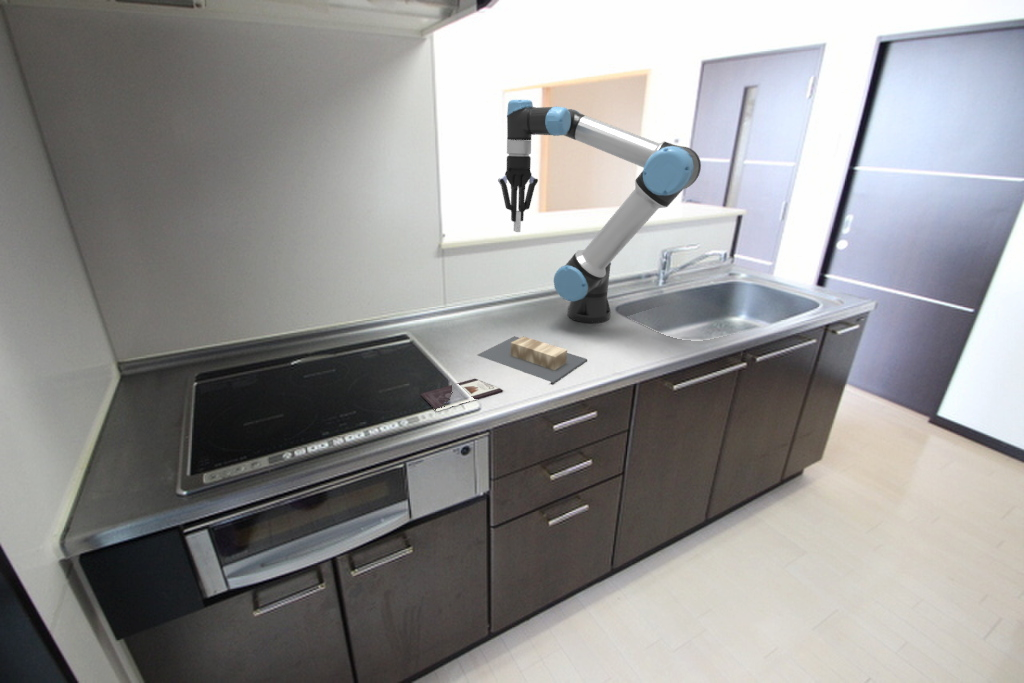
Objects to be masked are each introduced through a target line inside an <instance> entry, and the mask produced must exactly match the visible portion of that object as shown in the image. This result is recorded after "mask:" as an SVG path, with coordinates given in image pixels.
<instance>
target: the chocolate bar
mask: <svg viewBox="0 0 1024 683" xmlns="http://www.w3.org/2000/svg"><path fill="white" fill-rule="evenodd" d="M456 384H459V385H460V386H461V387H462V388H463V389H464V390H465V391H466V392H467V393H468V394H469V395H470V396H471V397H473V398H474V399H478V400H482V399H484V398H487V397H488V398H489V397H490V396H491V397H492V396H494V395H498V394H500V393H501V394H502V393H503V389H501V388H500V387H498V386H495V385H493V384H491V383H488V382H485V381H482V380H480V379H477V378H472V379H468V380H465V381H460V382H457V383H456ZM452 385H453V384H450V385H447V386H442V387H439V388H436V389H433V390H427V391H425V392H422V393H420V396H421V398H422V399H423V398H424V399H425V400H426V401H427V402H428V403H429V404H430V405H431V406H432V407H433V408H434V409H435V410H436V409H437V408H440V407H441V408H442V405H444V404H445V403H444V402H446V403H447V402H448V400H450V399H449V398H450V397H451V395H452V393H453V392H452ZM451 392H452V393H451ZM446 398H447V399H446ZM424 399H423V400H424ZM445 400H446V401H445ZM426 401H425V402H426ZM427 402H426V403H427ZM428 403H427V404H428ZM442 403H443V404H442ZM429 404H428V405H429ZM430 405H429V406H430ZM431 406H430V407H431ZM439 406H440V407H439ZM432 407H431V408H432ZM444 407H445V406H444ZM433 408H432V409H433ZM434 409H433V410H434ZM435 410H434V411H435Z"/></svg>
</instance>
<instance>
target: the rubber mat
mask: <svg viewBox="0 0 1024 683" xmlns="http://www.w3.org/2000/svg"><path fill="white" fill-rule="evenodd" d="M519 338H520V337H519V336H512V337H510V338H509V339H508V338H507V339H506V340H504V341H502V342H499V343H498V344H496V345H494V346H492V347H490V348H488V349H486V350H484V351H482V352H480V353H478V354H477V356H478V357H481V358H484V359H487V360H489V361H493V362H495V363H498V364H500V365H503V366H506V367H509V368H512V369H514V370H516V371H520V372H523V373H525V374H528V375H530V376H534V377H537V378H538V379H539V378H540V379H542V380H545V381H548V382H549V383H551V385H555V382H556V383H557V382H559V381H560V380H561V378H563V379H564V377H566V376H567V375H569V374H570V373H572V372H573V371H575V370H576V369H577V367H578V368H579V367H581V365H583V364H585V363H586V362H588V358H586V357H582V356H579V355H576V354H573V353H569V352H567V360H566V363H565V364H564V365H562V366H561V367H559V368H558V369H556V370H552V369H549V368H546V367H543V366H540V365H537V364H534V363H531V362H529V361H526V360H523V359H520V358H517V357H514V356H511V342H513V341H515V340H517V339H519ZM574 369H575V370H574ZM568 373H569V374H568ZM558 380H559V381H558Z"/></svg>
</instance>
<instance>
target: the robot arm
mask: <svg viewBox="0 0 1024 683" xmlns="http://www.w3.org/2000/svg"><path fill="white" fill-rule="evenodd" d="M506 112H507V114H506V119H507V121H506V123H507V126H506V128H507V129H506V131H507V132H506V133H507V134H506V136H507V137H506V138H507V139H506V154H507V156H506V171H505V173H504V176H502V177H500V178H498V180H497V181H498V183H499V185H500V187H501V191H502V196H503V197H502V198H503V201H504V206H505V209H507V210H509V211H510V212H511V213H510V214H511V215H510V216H511V217H510V220H511V222H513V232H515V233H521V225H522V224H521V223H522V222H524V216H525V215H524V212H525V211H526V210H529V209H530V206H531V204H532V200H533V195H534V192H535V187H536V185H537V184H538V182H539V179H538V178H535V177H534V176H533V175H532V172H531V159H532V157H531V156H530V155H531V153H532V135H533V136H534V135H536V136H537V135H538V136H553V137H555V136H557V137H558V136H564V137H567V138H569V139H573V140H574V141H578V142H579V143H582V144H585V145H588V146H589V147H593V148H594V149H597V150H600V151H602V152H605V153H607V154H609V155H612V156H614V157H616V158H619V159H621V160H624V161H627V162H629V163H631V164H634V165H637V166H638V167H641V168H643V170H642V171H641V173H640V174H638V176H637V177H636V179H635V180H634V183H635V184H634V186H635V188H634V190H632V192H631V193H630V194H629V195H628V197H627V198H626V199H625V200H624V201H623V203H622V204H621V205H620V207H619V208H617V210H616V211H615V212H614V214H612V216H611V217H610V218H609V220H607V222H606V223H605V224H604V225H603V227H602V228H601V229H600V230H599V231H598V233H597V234H596V235H595V236H594V238H592V240H591V241H590V242H589V243H588V245H587V246H586V247H585V249H579V250H577V251H576V252H575V253H574V254H573V255H572V257H571V258H570V259H569V260H568V262H566V264H565V265H562V266H561V267H559V268H558V269H557V270H556V272H555V273H554V276H553V285H554V286H553V287H554V289H555V292H556V293H557V294H558V295H559V296H560V298H562V299H563V300H565V301H568V302H569V305H568V307H567V313H566V315H567V317H568V316H569V317H568V318H570V319H571V320H573V321H576V320H577V322H581V323H586V324H587V323H588V324H599V323H603V322H607V321H608V320H610V318H611V308H610V302H609V298H608V290H609V282H610V271H611V266H612V261H613V260H614V259H615V258H616V257H617V255H619V254H620V252H621V251H622V250H623V249H624V248H625V246H626V245H627V244H628V243H630V241H631V240H632V239H633V238H634V237H635V235H636V234H637V233H638V232H639V231H640V230H641V229H642V228H643V226H644V225H645V224H646V223H647V222H648V221H649V220H650V219H651V218H652V216H653V215H654V214H655V213H656V212H657V211H658V210H659V209H663V208H665V209H666V208H668V207H669V206H670V205H671V203H672V202H673V201H674V200H675V199H676V198H677V197H678V196H679V195H680V193H681V192H683V191H684V190H685V189H687V188H689V187H691V186H692V185H693V184H694V183H695V182H696V181H697V180H698V177H699V176H700V173H701V170H702V169H701V168H702V163H701V162H702V161H701V158H700V156H699V155H698V153H697V152H696V151H695V150H693V149H692V148H690V147H687V146H681V145H677V144H673V143H670V142H667V141H665V140H664V141H662V142H661V143H659V142H657V141H654V140H651V139H648V138H646V137H642V136H641V135H638V134H635V133H633V132H630V131H627V130H624V129H623V128H620V127H617V126H614V125H612V124H609V123H607V122H604V121H601V120H599V119H596V118H593V117H590V116H588V115H585V114H583V113H581V112H579V111H577V110H575V109H572V108H569V109H568V108H567V107H565V106H563V107H562V106H547V107H545V106H543V107H542V106H541V107H535V106H533V101H532V100H529V99H510V100H509V101H508V103H507V111H506ZM507 181H508V182H507ZM507 183H508V184H510V195H509V189H508V184H507ZM527 183H528V187H527V192H526V185H527ZM525 192H526V194H525ZM517 207H518V208H517Z"/></svg>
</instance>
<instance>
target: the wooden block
mask: <svg viewBox="0 0 1024 683" xmlns="http://www.w3.org/2000/svg"><path fill="white" fill-rule="evenodd" d="M567 353H568V349H566V348H563V347H559V346H555V345H552V344H549V343H547V342H543V341H540V340H536V339H533V338H530V337H526V336H524V335H523V336H522V337H519V339H517V340H515V341H513V342H511V356H514V357H517V358H520V359H523V360H526V361H529V362H531V363H534V364H537V365H540V366H543V367H546V368H549V369H552V370H556V369H558V368H559V367H561V366H562V365H564V364H565V363H566V360H567Z"/></svg>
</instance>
